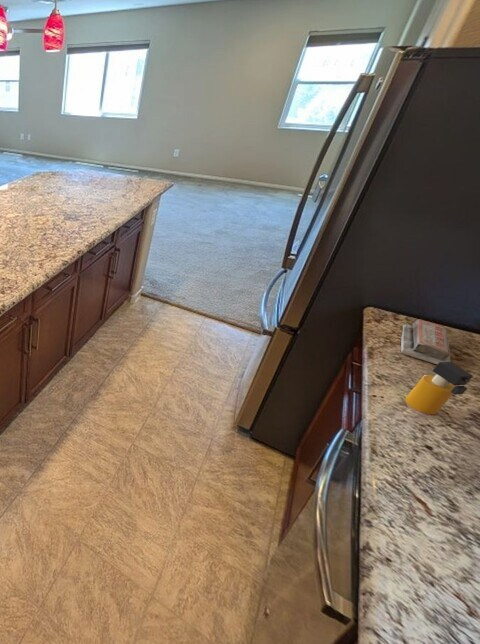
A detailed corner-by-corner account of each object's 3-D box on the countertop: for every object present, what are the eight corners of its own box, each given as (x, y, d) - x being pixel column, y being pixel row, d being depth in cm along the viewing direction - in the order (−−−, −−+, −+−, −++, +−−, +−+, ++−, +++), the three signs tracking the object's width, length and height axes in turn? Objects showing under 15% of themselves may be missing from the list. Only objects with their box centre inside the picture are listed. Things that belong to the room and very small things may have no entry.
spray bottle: (398, 397, 101) (429, 359, 94) (419, 396, 101) (451, 358, 94) (424, 417, 95) (459, 378, 88) (446, 416, 95) (482, 377, 88)
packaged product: (409, 314, 123) (455, 327, 117) (401, 326, 125) (446, 340, 119) (408, 341, 112) (459, 357, 106) (399, 353, 114) (448, 370, 108)
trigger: (450, 391, 91) (455, 385, 90) (458, 391, 91) (463, 385, 90) (454, 394, 91) (459, 388, 90) (462, 394, 91) (467, 388, 90)
